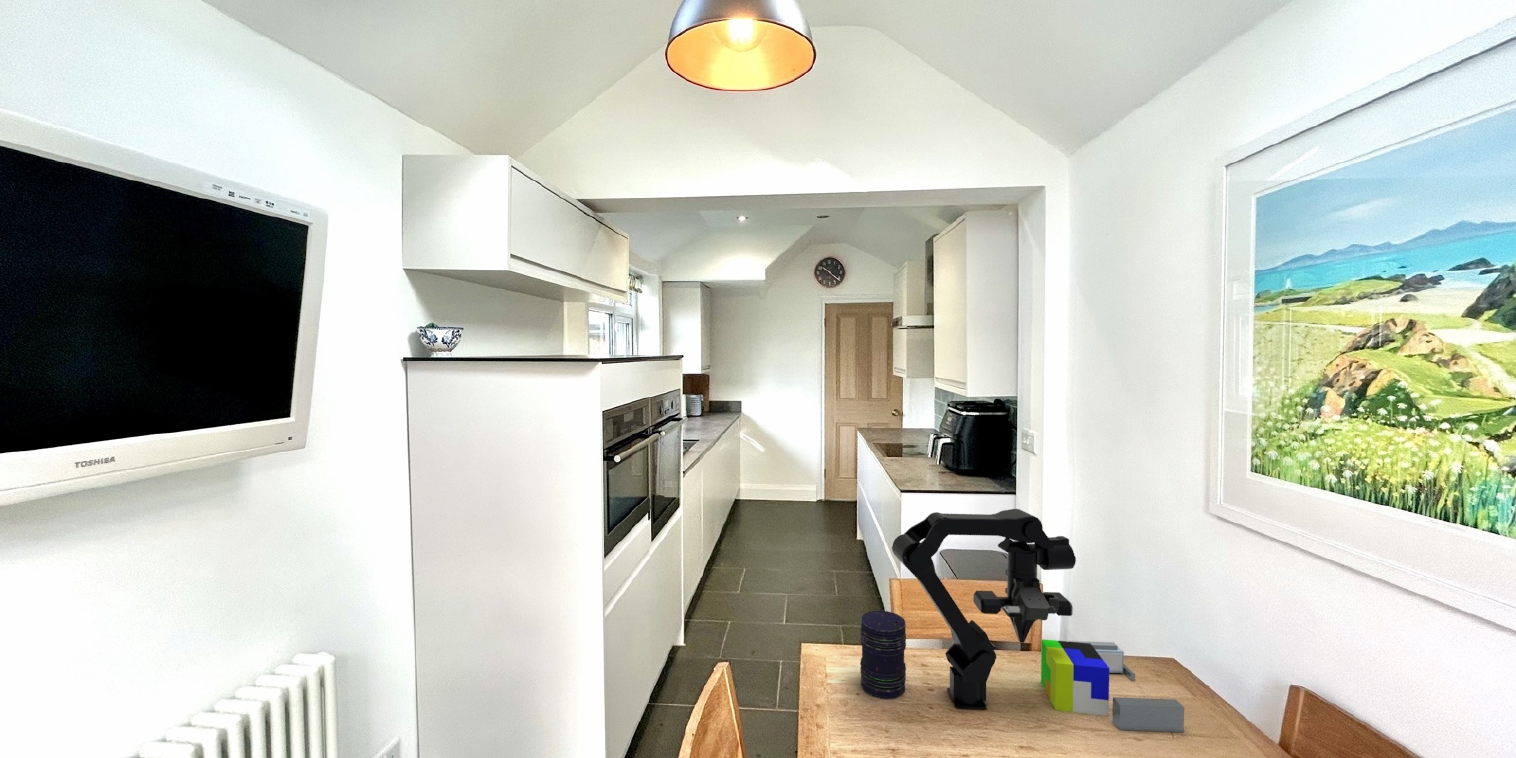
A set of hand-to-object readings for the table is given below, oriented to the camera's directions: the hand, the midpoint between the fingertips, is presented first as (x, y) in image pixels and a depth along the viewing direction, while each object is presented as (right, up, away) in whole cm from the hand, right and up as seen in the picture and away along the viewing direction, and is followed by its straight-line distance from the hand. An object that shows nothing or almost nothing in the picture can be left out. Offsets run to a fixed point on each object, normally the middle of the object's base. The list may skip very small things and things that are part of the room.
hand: (1021, 641), depth 120 cm
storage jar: (-29, -12, +4) cm, 32 cm away
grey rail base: (+21, -12, +2) cm, 24 cm away
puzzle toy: (+11, -12, 0) cm, 17 cm away
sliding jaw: (+22, -12, +10) cm, 27 cm away
